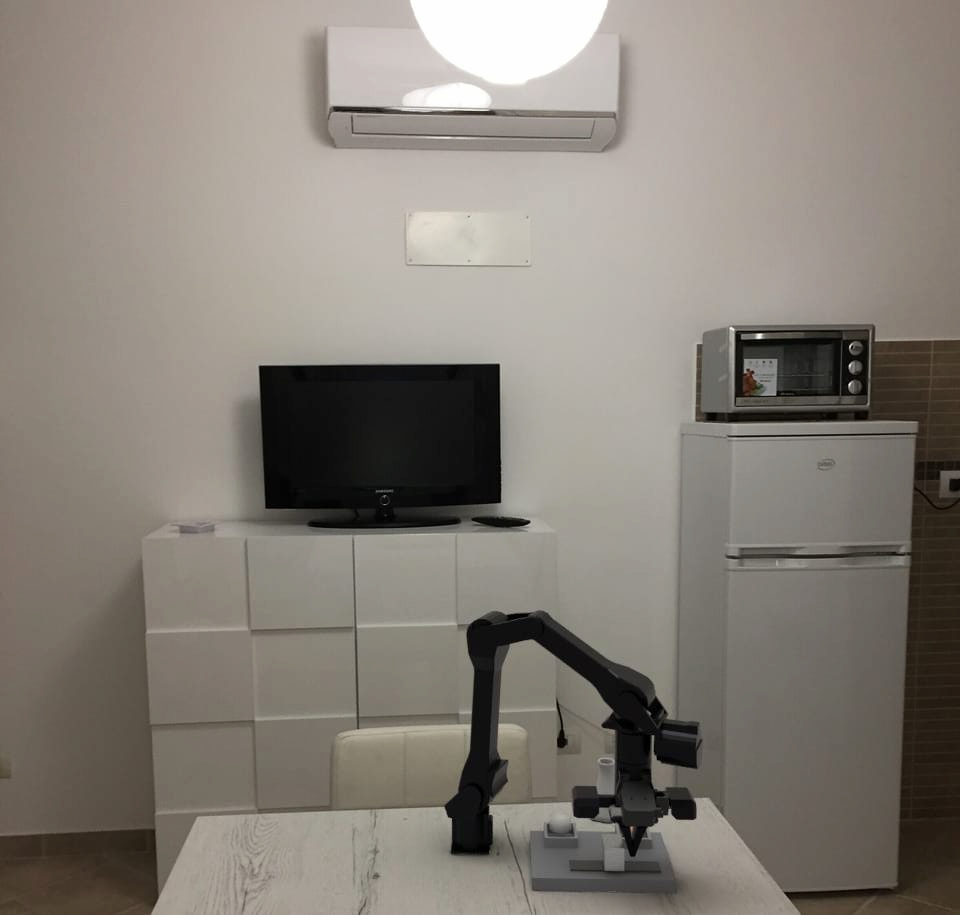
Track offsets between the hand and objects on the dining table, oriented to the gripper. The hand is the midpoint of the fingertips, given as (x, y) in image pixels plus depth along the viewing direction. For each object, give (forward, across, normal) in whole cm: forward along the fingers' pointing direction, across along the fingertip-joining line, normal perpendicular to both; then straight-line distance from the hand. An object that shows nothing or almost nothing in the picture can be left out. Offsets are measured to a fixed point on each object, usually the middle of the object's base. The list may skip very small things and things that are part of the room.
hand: (632, 855), depth 136 cm
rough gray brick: (+1, -3, 0) cm, 3 cm away
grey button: (0, -11, +8) cm, 14 cm away
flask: (+4, -2, +22) cm, 22 cm away
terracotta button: (+1, +1, +8) cm, 9 cm away
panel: (+4, -5, +4) cm, 7 cm away
